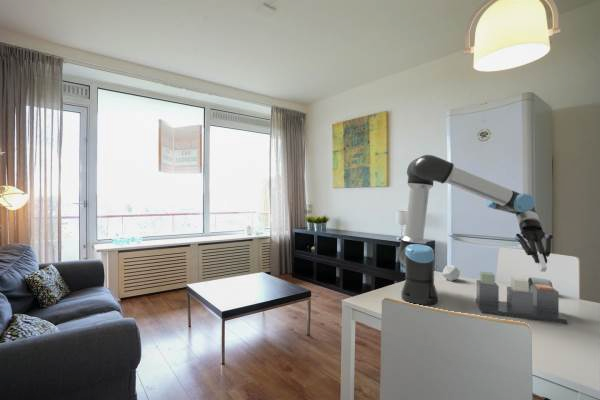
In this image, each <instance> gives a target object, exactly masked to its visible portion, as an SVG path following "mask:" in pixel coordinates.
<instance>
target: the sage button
mask: <svg viewBox="0 0 600 400" xmlns="http://www.w3.org/2000/svg"><path fill="white" fill-rule="evenodd" d="M479 280H480V283H481V284H487V285H495V283H496V276H495V274H494V273H493V272H490V271H480V272H479Z"/></svg>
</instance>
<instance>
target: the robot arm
mask: <svg viewBox="0 0 600 400" xmlns="http://www.w3.org/2000/svg"><path fill="white" fill-rule="evenodd" d="M408 164H409V165H408V166H407V169H406V174H407V185H408V186H409V194H408V195H409V197H408V205H407V213H406V221H405V222H406V223H405V230H404V236H403V237H401V239H400V246H399V247H398V249H397V259H398V260H399V262H400V263H401V265H403V266H404V267H405V281H404V284H403V287H402V289H401V293H400V294H401V296H400V297H401V299H402V300H403V301H405V302H408V303H410V302H411V304H414V303H416V304H415V305H419V304H421V306H432V305H437V304H438V303H439V294H438V291H437V288H436V285H435V251H434V249H433V248H432V247H431V246H428V245H427V242H426V240H425V239H424V236H425V228H426V227H425V226H426V219H427V211H428V204H429V203H428V202H429V193H430V190H431V189H432V188H433V187H434V182H437V183H440V184H443V185H444V184H449V185H451V186H453V187H456V188H458V189H461V190H463V191H465V192H468V193H471V194H473V195H476V196H478V197H480V198H481V199H482V198H483V199H485V200H486V206H487V208H489V209H493V210H498V211H501V212H507V213H510V214H513V215H515V216H516V220H517V222H518V227H519V230H520V233H516V235H515V237H514V239H515V240H517V242H519V244H520V246H521V248H522V249H523V250H524V252H525V254H526V255H527V256H532V257H531V258H533V260H534V263H535V264H538V269H539V272H543V273H545V272H546V271H547V269H548V267H547V264H548V259H547V257H550V255H551V253H552V252H551V251H552V249H551V248H552V240H553V235H551V234H550V235H548V234H546V233H545V231H543V227H542V225H541V224H542V223H541V222H540V221H541V220H540V219H539V216H538V212H537V210H536V206H535V205H536V200H535V198H534V197H533V195H531V194H528V193H521V192H517V191H515V190H512V189H510V188H508V187H505V186H503V185H500V184H498V183H495V182H493V181H490V180H488V179H486V178H483V177H480V176H478V175H476V174H473V173H471V172H469V171H466V170H463V169H461V168H458V167H456V166H455V164H454V163H453V162H450V161H448V160H445V159H443V158H440V157H438V156H436V155H432V154H425V155H421V156H420V157H417V158H415V159H413V160H411V162H410V163H408ZM543 239H544V241H545V248H544V244H543V242H542V240H543Z"/></svg>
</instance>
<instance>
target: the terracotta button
mask: <svg viewBox="0 0 600 400" xmlns="http://www.w3.org/2000/svg"><path fill="white" fill-rule="evenodd" d="M535 287H536V288H537V289H540V290H550V291H554V289H555V288H554V287H553V288H552V287H551V286H549V285H540V284H535Z"/></svg>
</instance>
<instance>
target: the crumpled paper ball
mask: <svg viewBox="0 0 600 400" xmlns="http://www.w3.org/2000/svg"><path fill="white" fill-rule="evenodd" d="M460 273H461V271H460V269H458V267H456V266H454V265H453V264H450V265H445V267H444V268H443V271H442V276H443V277H444V278H445V279H446V280H448V281H449V282H453V281H454V280H455V281H457V280H458V279H459V278H460Z"/></svg>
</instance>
